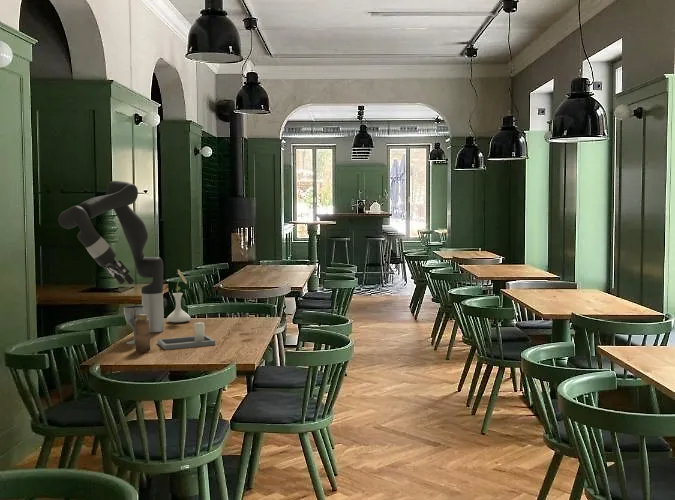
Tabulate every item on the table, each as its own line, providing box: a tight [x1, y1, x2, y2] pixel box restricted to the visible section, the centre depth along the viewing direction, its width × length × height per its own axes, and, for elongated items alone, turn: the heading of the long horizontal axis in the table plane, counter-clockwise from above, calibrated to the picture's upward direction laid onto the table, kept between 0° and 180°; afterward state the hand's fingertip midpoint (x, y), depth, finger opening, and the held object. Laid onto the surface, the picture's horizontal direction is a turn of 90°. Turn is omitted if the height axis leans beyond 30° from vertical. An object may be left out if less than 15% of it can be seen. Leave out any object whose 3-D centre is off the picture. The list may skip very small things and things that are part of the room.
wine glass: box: [123, 304, 144, 345], centre depth 306 cm, size 8×8×15 cm
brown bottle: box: [135, 314, 151, 353], centre depth 290 cm, size 6×6×14 cm
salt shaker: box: [193, 321, 206, 342], centre depth 300 cm, size 4×4×8 cm
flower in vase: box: [166, 269, 192, 323], centre depth 358 cm, size 13×11×25 cm
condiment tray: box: [156, 334, 216, 351], centre depth 297 cm, size 14×20×2 cm
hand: (127, 282), depth 289 cm, fingers open, 8 cm apart
